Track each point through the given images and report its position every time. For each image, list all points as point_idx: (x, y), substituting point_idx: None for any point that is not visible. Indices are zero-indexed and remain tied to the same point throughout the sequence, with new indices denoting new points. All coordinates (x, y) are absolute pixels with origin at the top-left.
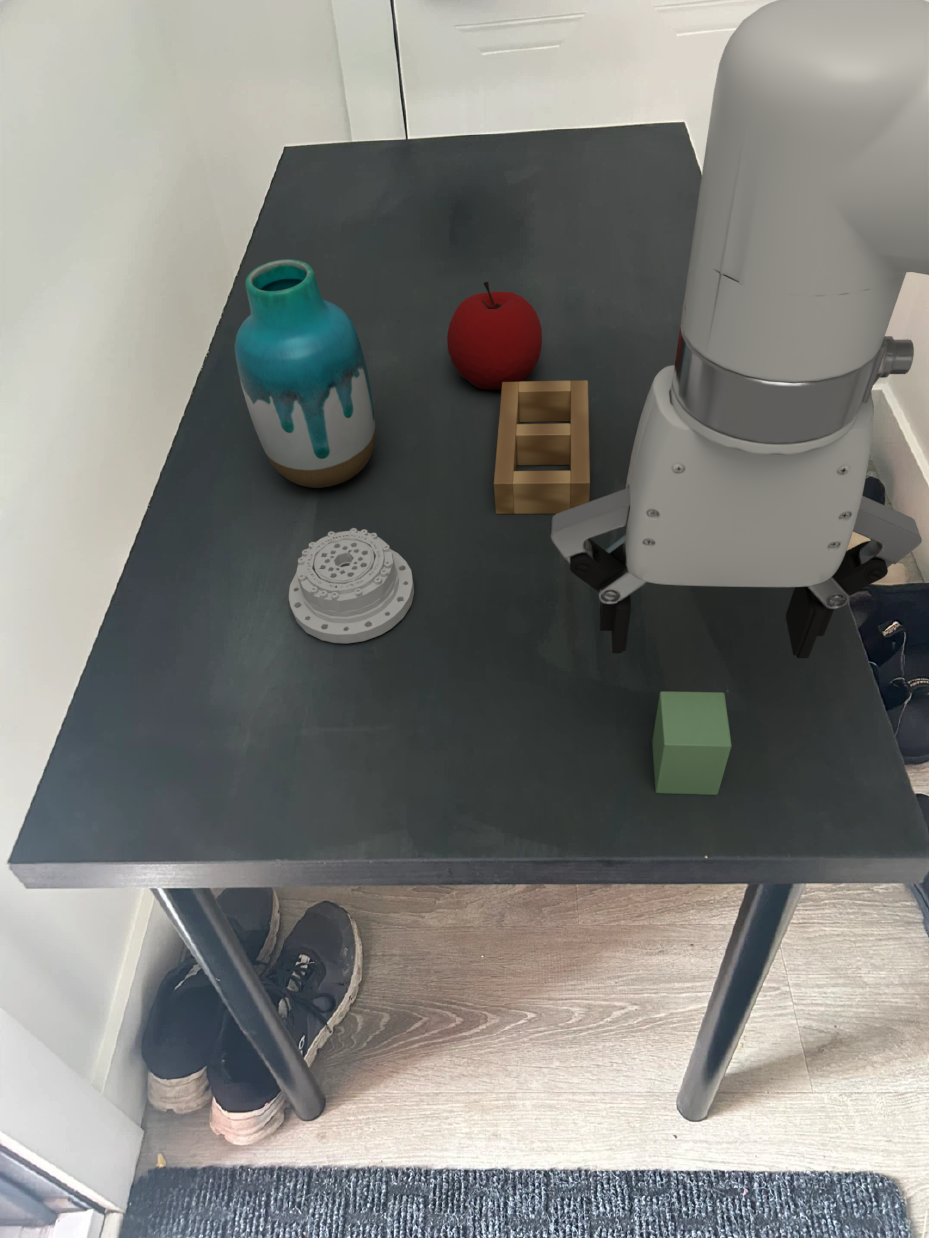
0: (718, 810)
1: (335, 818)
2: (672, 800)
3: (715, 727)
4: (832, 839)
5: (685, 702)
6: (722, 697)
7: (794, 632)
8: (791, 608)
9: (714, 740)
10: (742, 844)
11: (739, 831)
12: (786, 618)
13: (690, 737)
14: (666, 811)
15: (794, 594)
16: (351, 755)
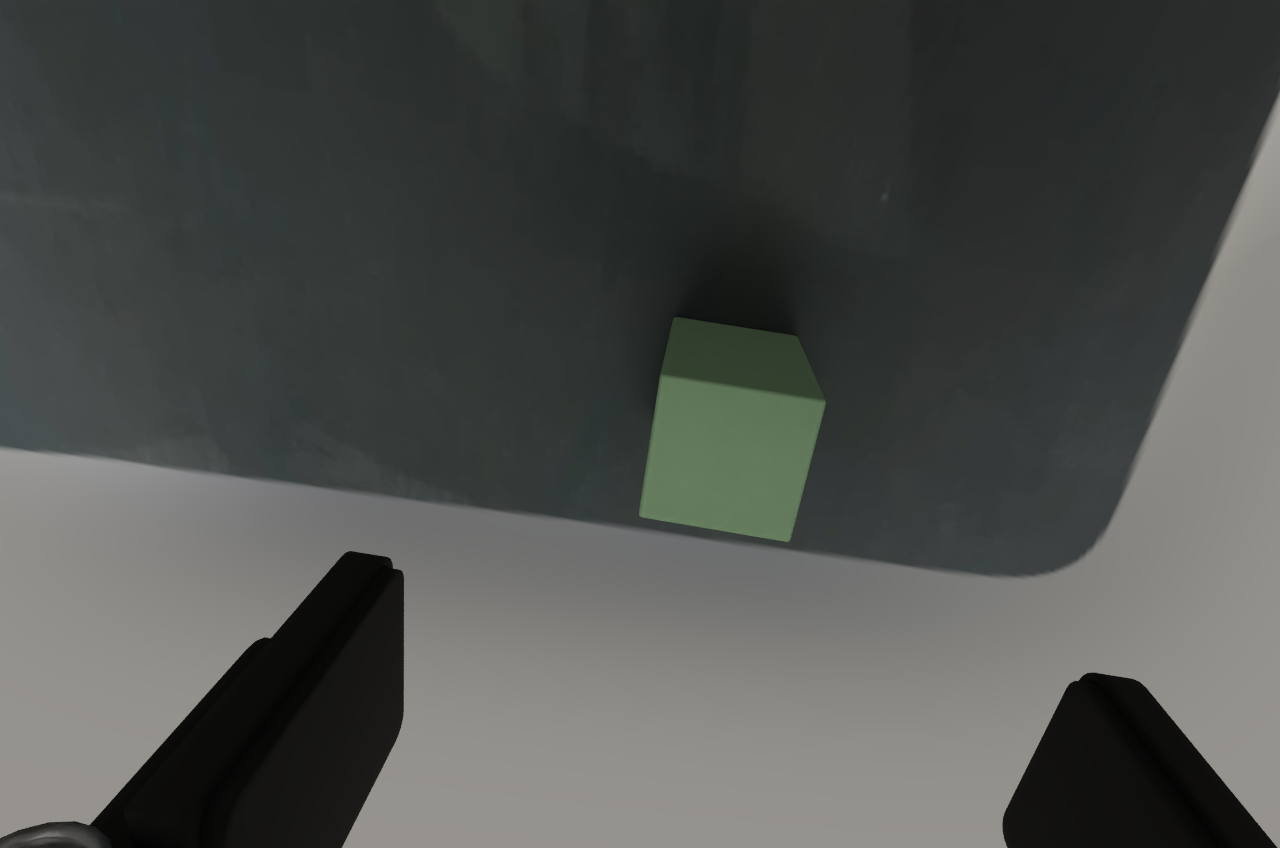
0: None
1: (83, 399)
2: None
3: (769, 492)
4: (943, 551)
5: (716, 417)
6: (815, 417)
7: (1052, 836)
8: (1111, 776)
9: (755, 523)
10: None
11: None
12: (1071, 690)
13: (701, 511)
14: None
15: (1167, 831)
16: (65, 269)
